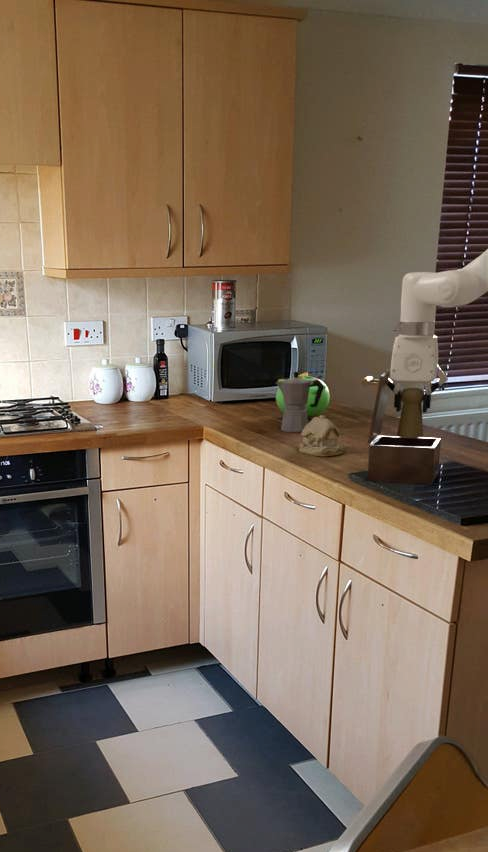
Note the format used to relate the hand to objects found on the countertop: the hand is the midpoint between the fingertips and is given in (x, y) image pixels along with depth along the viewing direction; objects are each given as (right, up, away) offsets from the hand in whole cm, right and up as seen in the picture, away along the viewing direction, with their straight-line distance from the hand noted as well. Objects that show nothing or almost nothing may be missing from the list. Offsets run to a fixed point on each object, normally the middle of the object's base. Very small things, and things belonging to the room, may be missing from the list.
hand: (411, 410), depth 202 cm
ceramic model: (-14, -4, +39) cm, 41 cm away
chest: (0, -15, +6) cm, 16 cm away
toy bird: (-10, +15, +95) cm, 97 cm away
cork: (0, -6, +2) cm, 6 cm away
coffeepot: (-15, +7, +72) cm, 74 cm away
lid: (-6, +1, +2) cm, 7 cm away
